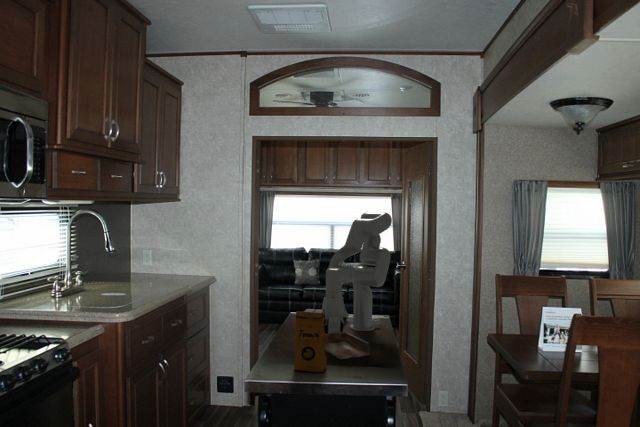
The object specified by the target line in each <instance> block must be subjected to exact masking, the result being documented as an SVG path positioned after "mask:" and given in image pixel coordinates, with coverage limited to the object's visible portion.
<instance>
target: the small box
mask: <svg viewBox="0 0 640 427" xmlns="http://www.w3.org/2000/svg"><path fill="white" fill-rule="evenodd" d="M327 325H328V334H331V333H339V332H340V317H330V318H328V324H327Z"/></svg>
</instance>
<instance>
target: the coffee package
mask: <svg viewBox="0 0 640 427" xmlns="http://www.w3.org/2000/svg"><path fill="white" fill-rule="evenodd" d="M325 334H326V333H325V331H324V317H323V313H319V312H304V311H296V312H295V328H294V354H295V355H294V356H295V358H294V364H293V367H294V368H293V369H294V371H301V372H310V373H320V372H323V373H324V371H325V370H326V369H327V353H328V352H327V351H326V350H325ZM324 369H325V370H324Z"/></svg>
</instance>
